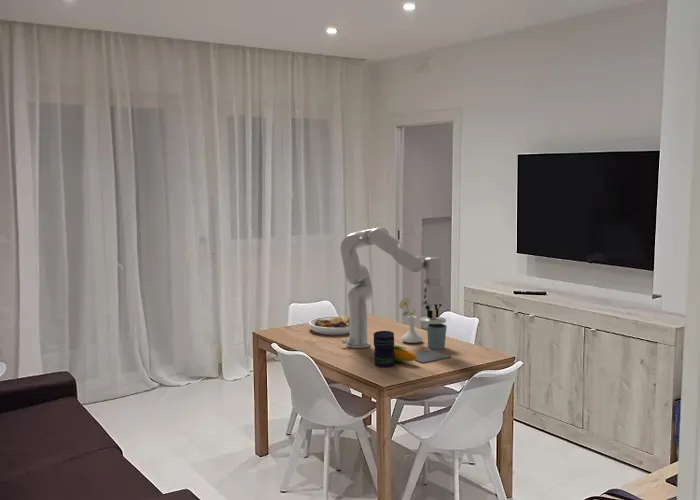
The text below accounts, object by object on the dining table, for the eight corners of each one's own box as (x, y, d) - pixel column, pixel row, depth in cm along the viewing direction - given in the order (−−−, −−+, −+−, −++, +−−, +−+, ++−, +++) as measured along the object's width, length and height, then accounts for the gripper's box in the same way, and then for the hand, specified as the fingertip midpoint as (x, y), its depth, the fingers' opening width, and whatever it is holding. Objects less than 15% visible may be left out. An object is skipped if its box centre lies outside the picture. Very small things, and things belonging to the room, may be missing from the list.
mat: (422, 363, 317) (422, 362, 317) (404, 356, 329) (404, 355, 329) (451, 357, 327) (451, 356, 327) (432, 351, 339) (432, 350, 339)
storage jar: (399, 363, 316) (398, 333, 313) (385, 369, 309) (384, 338, 306) (383, 359, 323) (382, 329, 320) (370, 364, 316) (368, 334, 313)
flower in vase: (416, 338, 365) (417, 293, 362) (426, 343, 354) (426, 297, 351) (395, 340, 360) (395, 295, 357) (403, 345, 350) (404, 299, 347)
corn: (385, 341, 328) (421, 347, 317) (384, 356, 329) (420, 363, 318) (377, 343, 322) (413, 350, 311) (377, 359, 323) (413, 366, 312)
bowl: (302, 327, 394) (302, 314, 393) (348, 322, 406) (348, 309, 405) (319, 338, 367) (319, 324, 366) (369, 333, 378) (369, 319, 378)
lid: (430, 325, 326) (430, 313, 325) (414, 320, 337) (414, 308, 337) (451, 322, 333) (451, 310, 332) (435, 317, 344) (435, 305, 343)
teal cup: (429, 344, 352) (429, 322, 350) (448, 346, 348) (448, 323, 347) (425, 349, 342) (425, 326, 341) (444, 351, 339) (444, 328, 337)
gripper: (424, 284, 325) (424, 320, 327) (450, 281, 334) (450, 317, 336) (415, 282, 332) (415, 318, 334) (441, 279, 340) (441, 314, 342)
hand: (432, 317), depth 335 cm, fingers closed on lid, 3 cm apart
